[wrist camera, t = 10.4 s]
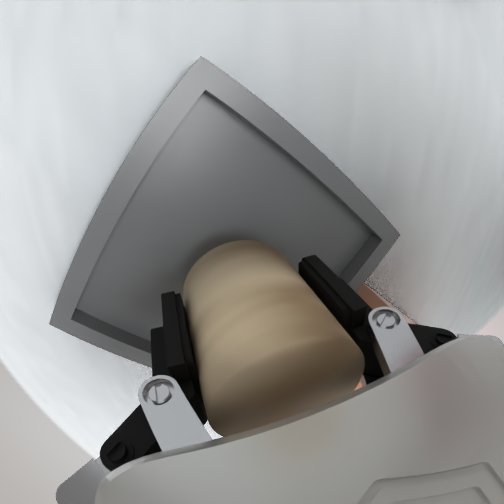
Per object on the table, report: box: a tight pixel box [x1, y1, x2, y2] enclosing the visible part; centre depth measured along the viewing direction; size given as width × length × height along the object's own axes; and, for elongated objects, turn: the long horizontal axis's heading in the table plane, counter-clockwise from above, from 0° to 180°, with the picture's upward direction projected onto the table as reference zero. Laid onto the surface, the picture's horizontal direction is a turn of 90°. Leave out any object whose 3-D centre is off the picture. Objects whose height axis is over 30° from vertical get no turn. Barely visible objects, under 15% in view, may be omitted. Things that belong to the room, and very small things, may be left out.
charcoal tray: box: [49, 56, 400, 368], centre depth 15 cm, size 14×14×2 cm
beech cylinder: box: [183, 240, 365, 437], centre depth 10 cm, size 5×5×6 cm
